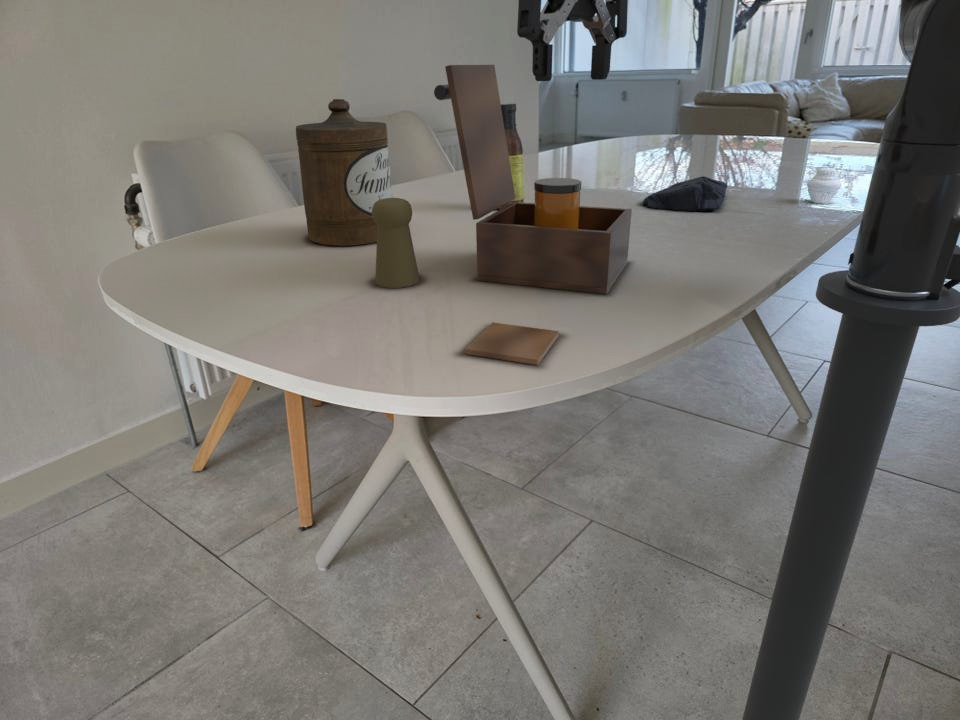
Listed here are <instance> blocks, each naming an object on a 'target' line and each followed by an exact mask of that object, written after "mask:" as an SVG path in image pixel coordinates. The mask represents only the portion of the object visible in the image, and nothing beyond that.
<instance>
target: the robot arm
mask: <svg viewBox="0 0 960 720" xmlns="http://www.w3.org/2000/svg"><path fill="white" fill-rule="evenodd" d="M628 4H629V0H546V2H545V4H544V6H543V8H542V0H518V7H517V8H518V9H517V25H516V26H517V27H516V33H517V36H518V37H519V38H520V39H521V38H524V39H526V40H527V41H529V42H530V43H531V46H532V62H531V63H532V69H531V70H532V74H533V76H534V80H535V81H536V82H551V81H552V78H553V53H554V52H553V49H554V47H553V46H554V44H553V43H552V44H551V42H552V40H554V39H553V38H554V37H555V35H556V34H557V31H558V30H559V28H561V27H562V26H563V25H564V24H565V22H573V23H582V25H583V27H584V29H587V30H588V32H589V35H590V36H591V38H592V41H593V43H594V45H591V61H590V63H591V66H590V79H591V80H593V81H595V80H596V81H598V80H599V81H600V80H606V79H607V78H608V75H609V73H610V71H611V59H612V46H613V44H614V43H615V41H617V40H619V39H624V38H625V37H626V36H627V33H628V7H629V5H628ZM898 21H899V22H898V43H899V47H900V50H901V53H902V55H903V56H904V58H905V60H906V61H907V62H908V63H909V68H908V71H907V72H908V73H907V75H906V79H905V83H904V87H903V89H902V91H901V92H902V93H901V95H900V97H899V100H898V101H897V103H896V104H895V107H894V108H893V109H891V111H890V112H889V113H888V115H887V116H886V118H885V121H884V124H883V128H882V133H881V136H880V137H881V139H880V142H879V146H878V150H877V154H876V158H875V162H874V166H873V169H872V170H873V171H872V174H871V178H870V182H869V187H868V191H867V194H866V198H865V199H866V200H865V203H864V207H863V211H862V215H861V220H860V224H859V228H858V231H857V236H856V239H855V244H854V248H853V252H852V253H849V259H848V262H847V265H848V270H849V272H848V274H847V277H846V281H845V284H846V286H847V287H849V288H850V289H852V290H854V291H857V292H859V293H862V294H865V295H869V296H873V297H878V298H883V299H890V300H900V301H920V300H939V298H940V294H941V291H942V288H943V286H944V287H945V288H947V289H948V290H949V289H950V288H954V287H955V286H957V285H959V284H960V246H959V245H958V240H959V237H960V0H900V10H899V20H898ZM946 280H949V281H947V282H945V281H946Z"/></svg>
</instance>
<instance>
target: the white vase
mask: <svg viewBox="0 0 960 720" xmlns="http://www.w3.org/2000/svg"><path fill="white" fill-rule="evenodd" d="M806 187H807V193H808V196H809V198H810V199H809V200H810V202H811V203H815V204H822V205H823V204H829V203H831V201H832V200H833V199H834V197H836V195H837V194H838V193H839V190H840V189H841V188H842V182H841V180H840V179H839V177H838V176H837V171H836V169H835V168H832V167H829V166H827V167H822V168H819V169H818V170H817V171H816V174H814V175H813V177H812V178H811V179H809V180H808V181H807V183H806Z"/></svg>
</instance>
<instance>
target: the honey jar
mask: <svg viewBox="0 0 960 720" xmlns="http://www.w3.org/2000/svg"><path fill="white" fill-rule="evenodd" d="M533 190H534V203H535V212H534V226H542V227H556V228H569V229H579V209H580V206H581V190H582V180H580V179H577V178H569V177H548V178H546V177H545V178H539V179H536V180H535V181H533Z"/></svg>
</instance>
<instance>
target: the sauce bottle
mask: <svg viewBox="0 0 960 720" xmlns="http://www.w3.org/2000/svg"><path fill="white" fill-rule="evenodd" d="M500 104H501V110H502V116H503V123H504V129H505V135H506V142H507V148H508V154H509V161H510V167H511V174H512V180H513V186H514V193H515V199H514V200H512V201H510V202H508V203H506V204H505V205H503V206H501V207H499V208H497V209H496V210H500V209H502V208H504V207H506V206H507V205H509V204H511V203H512V202H521V203H525V202H524V200H525V177H524V149H523V144H522V139H521V138H520V136H519V133H518V129H517V120H516V119H517V118H516V115H517V114H516V112H517V103H516V102H503V103H501V102H500Z"/></svg>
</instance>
